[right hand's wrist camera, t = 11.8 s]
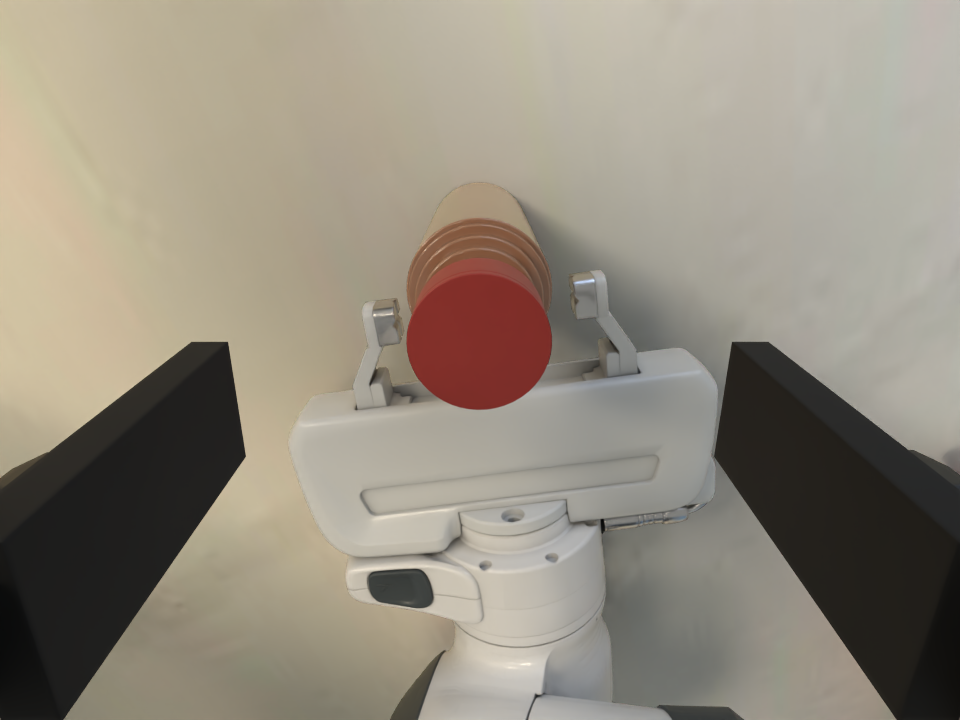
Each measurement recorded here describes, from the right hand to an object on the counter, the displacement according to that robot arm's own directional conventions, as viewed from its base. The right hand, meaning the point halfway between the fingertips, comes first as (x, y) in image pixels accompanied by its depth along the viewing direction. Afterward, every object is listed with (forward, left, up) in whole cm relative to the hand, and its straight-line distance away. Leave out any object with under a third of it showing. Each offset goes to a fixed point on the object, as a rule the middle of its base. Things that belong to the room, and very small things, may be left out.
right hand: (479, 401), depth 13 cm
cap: (0, 0, -4) cm, 4 cm away
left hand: (+1, -1, -15) cm, 15 cm away
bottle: (0, 0, -22) cm, 22 cm away
